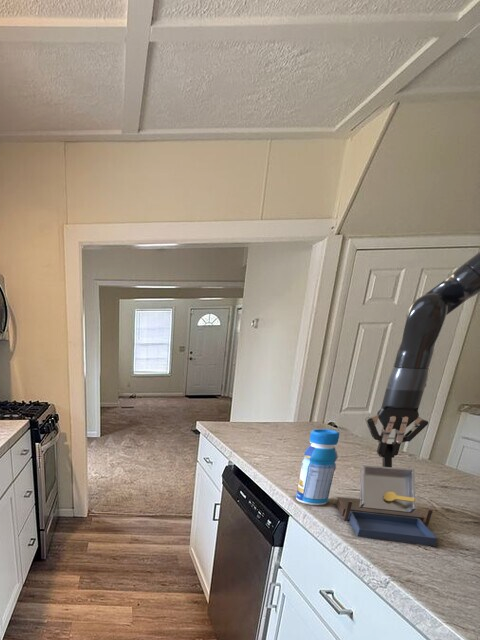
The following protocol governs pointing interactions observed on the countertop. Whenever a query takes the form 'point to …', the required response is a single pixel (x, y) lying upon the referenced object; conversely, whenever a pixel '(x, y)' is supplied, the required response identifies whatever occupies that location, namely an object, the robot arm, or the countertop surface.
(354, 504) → the stand
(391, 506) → the grey dustpan
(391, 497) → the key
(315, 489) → the beverage bottle
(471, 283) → the robot arm
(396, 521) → the tray
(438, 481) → the countertop surface
